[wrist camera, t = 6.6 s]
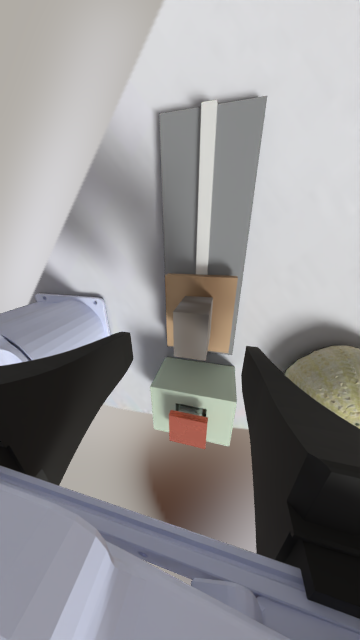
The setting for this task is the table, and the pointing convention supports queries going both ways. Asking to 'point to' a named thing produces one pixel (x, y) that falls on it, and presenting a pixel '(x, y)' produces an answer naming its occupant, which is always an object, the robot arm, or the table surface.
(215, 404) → the pale green block
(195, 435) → the button
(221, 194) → the track
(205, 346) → the carriage
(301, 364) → the sea urchin shell
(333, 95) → the table surface
